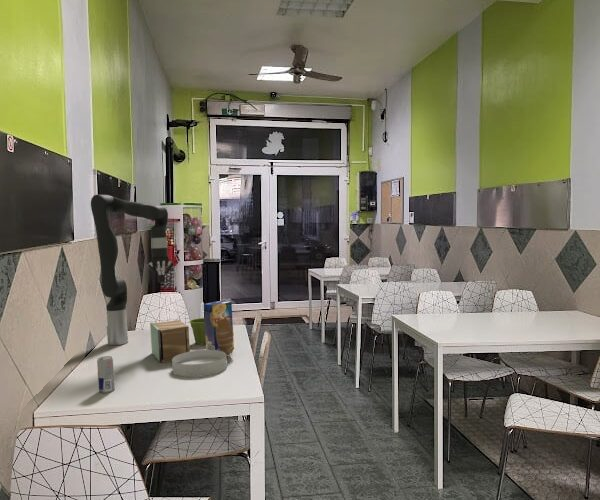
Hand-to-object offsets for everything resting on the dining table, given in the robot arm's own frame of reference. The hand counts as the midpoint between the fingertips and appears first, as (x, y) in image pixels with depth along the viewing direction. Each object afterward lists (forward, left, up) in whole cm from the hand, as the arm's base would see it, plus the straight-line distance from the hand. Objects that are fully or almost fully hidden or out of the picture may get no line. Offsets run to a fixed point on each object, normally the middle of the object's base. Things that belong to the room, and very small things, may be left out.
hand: (161, 282), depth 247 cm
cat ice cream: (+28, -30, -31) cm, 52 cm away
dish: (+17, -45, -32) cm, 58 cm away
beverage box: (+26, -18, -31) cm, 44 cm away
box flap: (-2, -22, -31) cm, 38 cm away
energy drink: (-16, -63, -31) cm, 72 cm away
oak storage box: (+4, -21, -31) cm, 37 cm away
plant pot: (+18, 0, -31) cm, 36 cm away
